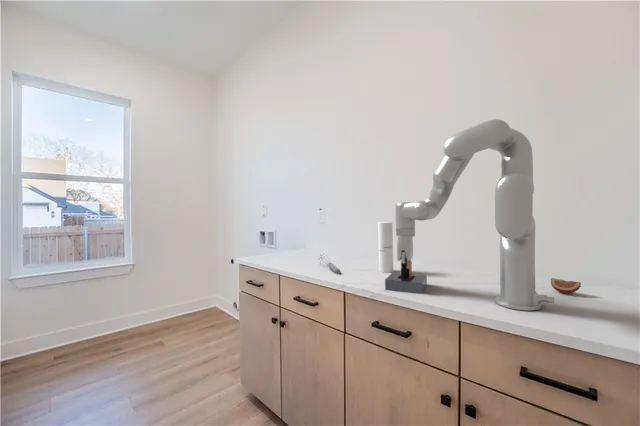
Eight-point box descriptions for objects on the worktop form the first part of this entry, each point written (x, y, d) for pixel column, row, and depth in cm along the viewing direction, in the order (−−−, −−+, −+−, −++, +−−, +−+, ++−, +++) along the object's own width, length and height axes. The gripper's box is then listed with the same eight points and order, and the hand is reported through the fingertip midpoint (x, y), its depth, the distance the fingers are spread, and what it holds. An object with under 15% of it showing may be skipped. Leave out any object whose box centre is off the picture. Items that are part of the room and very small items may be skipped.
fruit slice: (582, 294, 105) (582, 280, 105) (579, 298, 101) (579, 283, 101) (552, 289, 111) (552, 276, 111) (549, 293, 107) (548, 279, 107)
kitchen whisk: (334, 276, 143) (333, 263, 143) (316, 264, 176) (316, 253, 175) (345, 275, 145) (345, 262, 145) (326, 263, 177) (325, 252, 177)
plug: (412, 280, 121) (412, 260, 121) (411, 282, 117) (410, 262, 117) (402, 279, 123) (401, 260, 123) (399, 281, 119) (399, 262, 119)
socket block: (426, 284, 123) (426, 274, 123) (422, 293, 111) (421, 282, 110) (393, 281, 129) (393, 272, 129) (385, 289, 117) (385, 279, 117)
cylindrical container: (393, 272, 146) (392, 222, 145) (379, 272, 147) (377, 222, 147) (393, 269, 153) (392, 221, 152) (379, 269, 154) (378, 222, 154)
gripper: (400, 230, 129) (401, 272, 129) (391, 234, 114) (392, 281, 114) (418, 230, 125) (419, 273, 126) (411, 234, 110) (412, 282, 111)
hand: (406, 276), depth 120 cm, fingers closed on plug, 4 cm apart
